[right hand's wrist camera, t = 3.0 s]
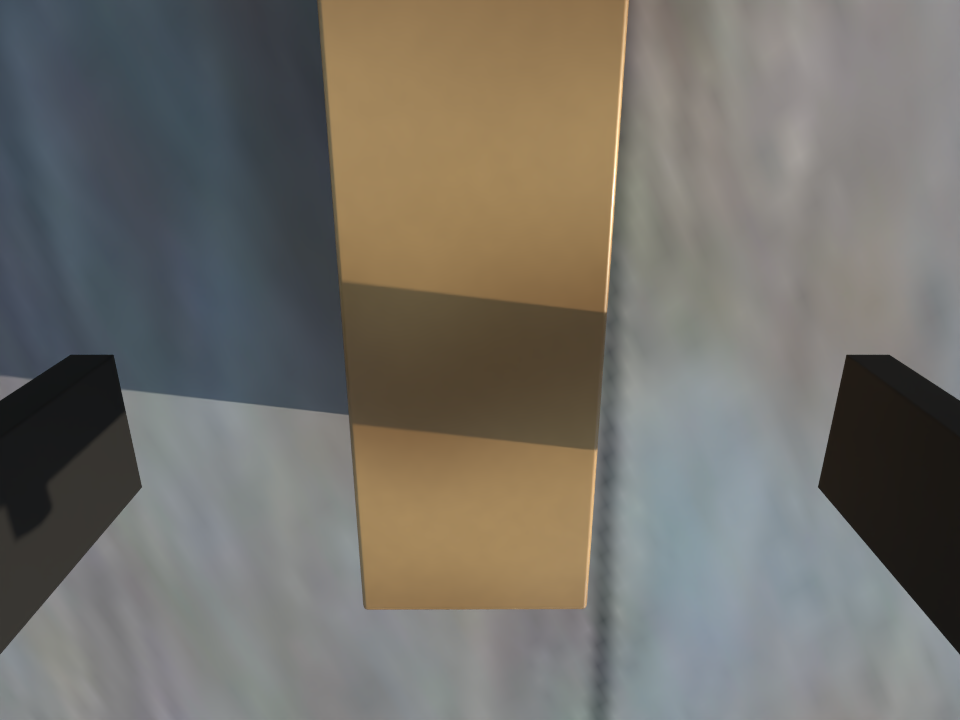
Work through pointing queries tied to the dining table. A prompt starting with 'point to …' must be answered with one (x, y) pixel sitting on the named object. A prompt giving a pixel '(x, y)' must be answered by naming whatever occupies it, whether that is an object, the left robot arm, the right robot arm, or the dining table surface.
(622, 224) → the dining table surface
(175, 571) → the dining table surface
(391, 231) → the bar
